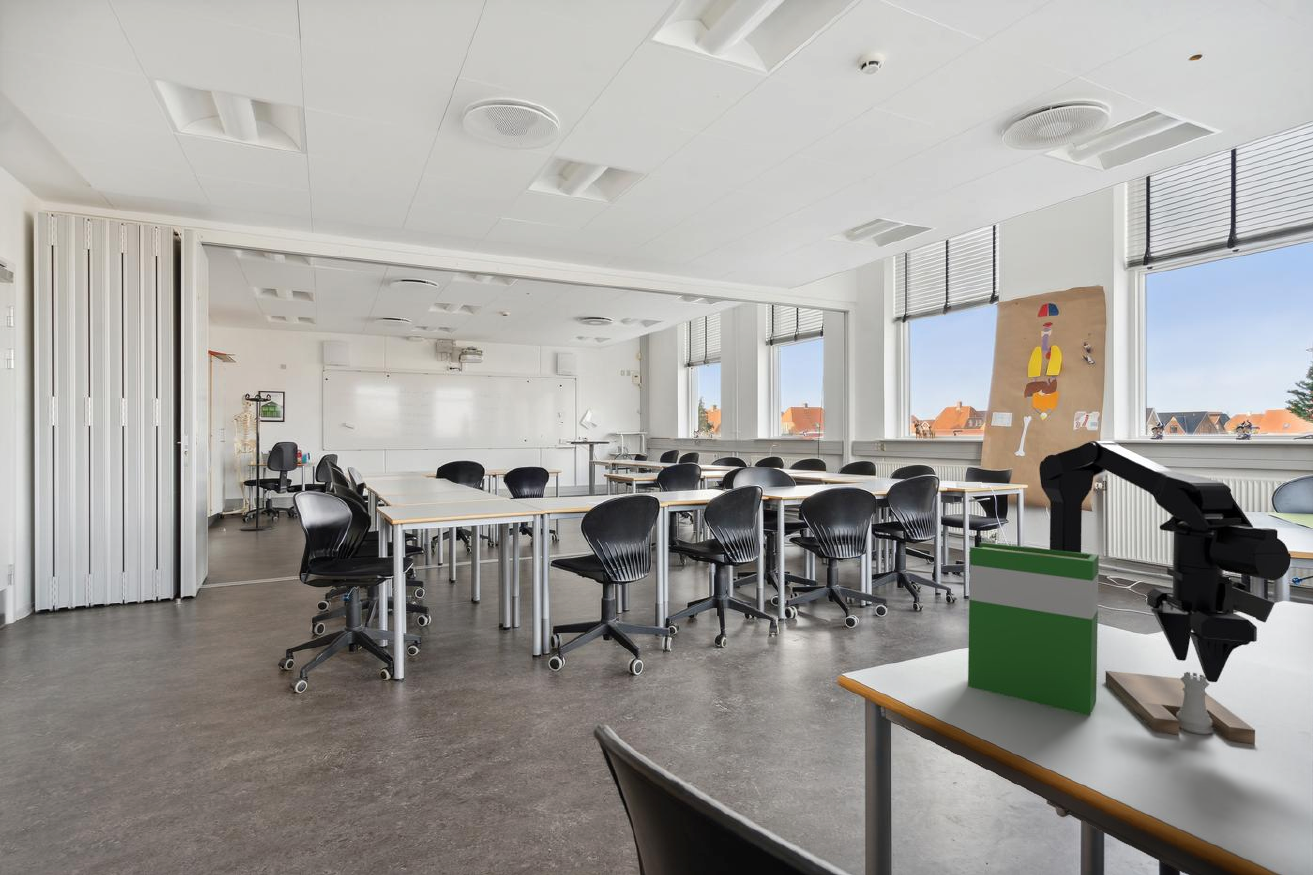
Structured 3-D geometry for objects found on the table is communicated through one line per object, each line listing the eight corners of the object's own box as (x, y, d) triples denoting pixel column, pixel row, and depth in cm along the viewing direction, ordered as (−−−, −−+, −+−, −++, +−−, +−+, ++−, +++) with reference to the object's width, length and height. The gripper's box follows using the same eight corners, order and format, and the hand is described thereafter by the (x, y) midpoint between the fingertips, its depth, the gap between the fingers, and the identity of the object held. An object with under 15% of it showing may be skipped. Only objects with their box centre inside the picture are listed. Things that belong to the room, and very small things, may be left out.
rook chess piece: (1198, 722, 99) (1200, 670, 99) (1221, 736, 95) (1222, 681, 95) (1167, 721, 99) (1168, 669, 99) (1188, 734, 95) (1189, 680, 95)
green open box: (967, 686, 112) (970, 547, 112) (979, 674, 118) (981, 542, 118) (1090, 716, 101) (1092, 561, 101) (1096, 701, 107) (1098, 554, 106)
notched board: (1154, 731, 96) (1154, 718, 96) (1105, 682, 115) (1105, 670, 115) (1254, 743, 92) (1255, 729, 92) (1186, 690, 111) (1187, 678, 111)
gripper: (1307, 583, 85) (1304, 702, 85) (1229, 557, 103) (1227, 656, 103) (1204, 576, 89) (1202, 691, 89) (1146, 553, 106) (1144, 648, 107)
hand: (1195, 670), depth 97 cm, fingers open, 9 cm apart
